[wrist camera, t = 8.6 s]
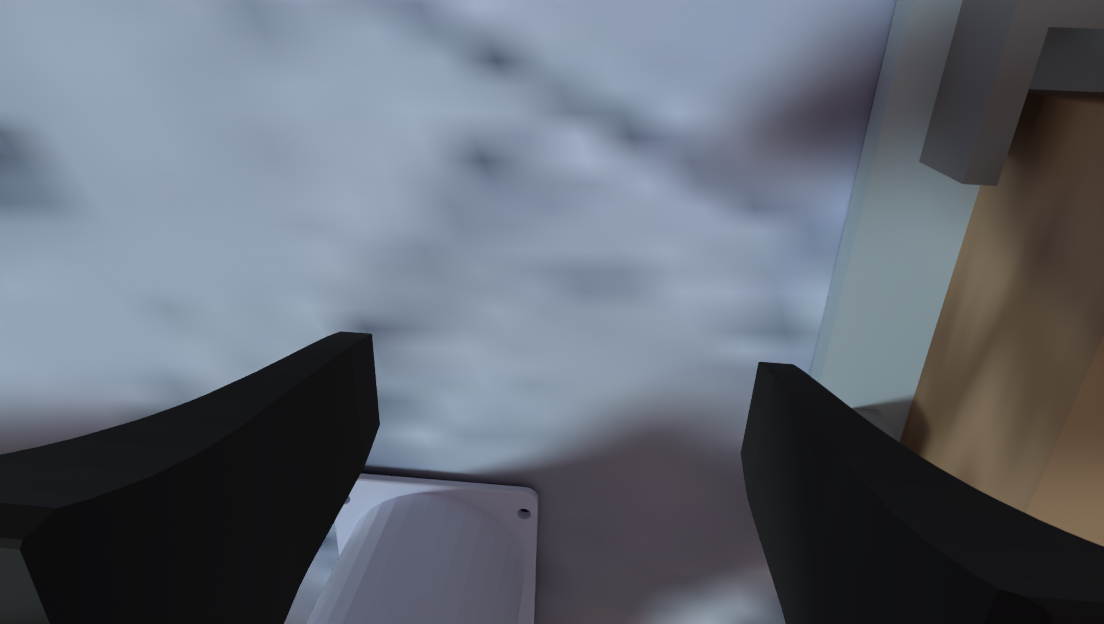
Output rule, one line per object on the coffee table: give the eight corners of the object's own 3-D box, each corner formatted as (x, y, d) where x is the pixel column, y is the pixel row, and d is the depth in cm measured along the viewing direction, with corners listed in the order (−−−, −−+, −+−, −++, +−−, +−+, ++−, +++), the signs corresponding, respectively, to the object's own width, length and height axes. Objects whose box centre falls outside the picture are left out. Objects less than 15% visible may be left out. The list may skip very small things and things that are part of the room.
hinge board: (1060, 526, 24) (1127, 606, 21) (779, 503, 25) (804, 577, 21) (1322, -31, 16) (1492, -39, 13) (907, -45, 17) (974, -56, 14)
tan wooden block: (1016, 471, 22) (1148, 624, 17) (893, 462, 22) (983, 609, 17) (1172, 95, 17) (1436, 139, 12) (1010, 88, 17) (1194, 127, 12)
